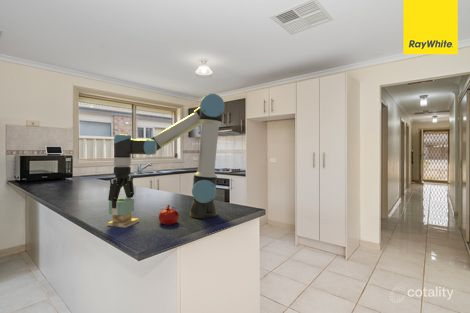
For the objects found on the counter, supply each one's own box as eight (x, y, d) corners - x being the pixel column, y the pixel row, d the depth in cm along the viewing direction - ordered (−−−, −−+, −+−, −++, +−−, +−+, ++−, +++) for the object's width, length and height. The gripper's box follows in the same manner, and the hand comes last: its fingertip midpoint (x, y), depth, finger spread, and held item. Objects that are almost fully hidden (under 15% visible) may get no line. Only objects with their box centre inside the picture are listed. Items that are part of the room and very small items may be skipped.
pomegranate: (162, 228, 116) (162, 208, 115) (155, 222, 124) (155, 204, 123) (182, 224, 121) (182, 205, 121) (174, 219, 129) (174, 201, 129)
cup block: (134, 211, 123) (134, 198, 123) (123, 215, 115) (123, 202, 115) (120, 210, 125) (120, 198, 125) (108, 214, 117) (108, 201, 117)
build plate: (138, 221, 124) (139, 210, 124) (125, 227, 114) (125, 215, 114) (121, 219, 127) (121, 209, 126) (107, 225, 117) (107, 214, 117)
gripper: (129, 164, 130) (129, 207, 131) (99, 167, 110) (98, 217, 111) (142, 165, 129) (141, 208, 129) (113, 167, 108) (112, 218, 109)
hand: (121, 212), depth 120 cm, fingers closed on cup block, 8 cm apart
